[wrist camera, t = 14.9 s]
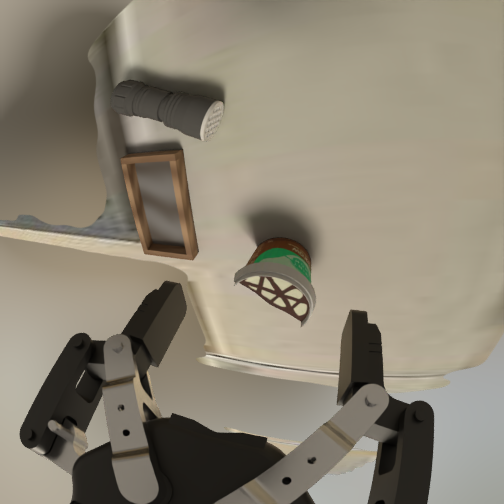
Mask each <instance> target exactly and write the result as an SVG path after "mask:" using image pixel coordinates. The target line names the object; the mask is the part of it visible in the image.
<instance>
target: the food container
mask: <svg viewBox="0 0 504 504" xmlns="http://www.w3.org/2000/svg"><path fill="white" fill-rule="evenodd" d="M234 282H235V285H236V284H237V283H241V284H242V285H244V286H246V287H247V288H249V289H250V290H252V291H253V292H255V293H256V294H258V295H259V296H260V297H261V298H262V299H264V300H265V301H266V302H268V303H269V304H270V305H272V306H274V307H276V308H278V309H280V310H283V311H285V312H287V313H288V314H290V315H292V316H293V317H295V318H296V319H298V320H299V321H301V327H302V326H304V325H305V324H306V322H307V321H308V320H309V319H310V317H311V315H312V312H313V310H314V307H315V304H316V295H315V291H314V288H313V286H312V285H311V259H310V257H309V254H308V252H307V251H306V249H305V248H304V247H303V246H302V245H301V244H299V243H298V242H296V241H294V240H291V239H288V238H272V239H269V240H266V241H264V242H263V243H261V244H260V245H259V246H258V247H257V249H256V250H255V252H254V253H253V255H252V257H251V258H250V260H249V261H248V263H247V265H246V266H245V267H243V268H241V269H240V270H238V271H237V272H236V273H235V278H234ZM235 285H234V286H235Z"/></svg>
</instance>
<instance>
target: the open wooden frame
mask: <svg viewBox="0 0 504 504" xmlns="http://www.w3.org/2000/svg"><path fill="white" fill-rule="evenodd" d="M121 164H122V169H123V174H124V178H125V183H126V187H127V191H128V196H129V200H130V204H131V208H132V212H133V215H134V219H135V223H136V227H137V230H138V234H139V237H140V241H141V244H142V247H143V251H144V254H148V255H156V256H163V257H171V258H179V259H186V260H194V258H195V257H196V255H197V254H198V252H199V250H198V245H197V239H196V233H195V227H194V221H193V215H192V209H191V203H190V196H189V190H188V183H187V176H186V169H185V162H184V154H183V149H181V150H165V151H152V152H141V153H132V154H128V155H126V156H124V157H122V158H121Z"/></svg>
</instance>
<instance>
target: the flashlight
mask: <svg viewBox="0 0 504 504" xmlns="http://www.w3.org/2000/svg"><path fill="white" fill-rule="evenodd" d="M111 106H112V108H113V110H115V111H116V112H117V113H119V114H123V115H127V116H133V115H134V116H139V117H142V118H150V119H153V120H157V121H160V122H164V125H165V126H167V127H170V128H173V129H178V130H179V131H181V132H182V133H184V134H185V135H188V136H191V137H194V138H197V139H200V140H203V141H206V142H207V141H209V140H210V139H211V138H212V137H213V135H214V134H215V132H216V130H217V129H218V126H219V124H220V121H221V118H222V115H223V110H224V105H223V102H221V101H217V100H214V99H211V98H208V97H204V96H201V95H189V94H186V93H182V92H176V93H174V94H173V93H172V92H168V91H164V90H160V89H157V88H155V87H152V86H148V85H145V84H144V83H143V82H139V81H134V80H128V81H123V82H121V83H119V84H118V85H117V86H116V88H115V89H114V91H113V93H112V96H111Z"/></svg>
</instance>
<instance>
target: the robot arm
mask: <svg viewBox="0 0 504 504" xmlns="http://www.w3.org/2000/svg"><path fill="white" fill-rule="evenodd" d="M186 309H187V306H186V301H185V297H184V294H183V290H182V286H181V284H180V283H175V282H170V281H165V282H164V283H163V284H162V286H161V287H160V288H159V290H157V289H155V290H153V291H152V292H151V293H149V294H148V295H147V296H146V297H145V299H144V300H143V302H142V304H141V305H140V306H139V307H138V310H137V311H136V312H135V313H134V315H133V316H132V318H131V319H130V321H129V322H128V324H127V325H126V327H125V328H124V330H123V332H122V333H121V334H116V335H113V336H111V337H110V338H108V339H107V341H96V340H91V338H90V337H89V335H87V334H86V333H78V334H76V335H74V336H73V337H72V338H71V339H70V340H69V342H68V343H67V345H66V347H65V348H64V350H63V351H62V353H61V355H60V356H59V358H58V360H57V361H56V363H55V365H54V366H53V368H52V370H51V371H50V373H49V375H48V377H47V378H46V380H45V382H44V384H43V385H42V387H41V389H40V391H39V393H38V395H37V397H36V398H35V400H34V402H33V404H32V406H31V408H30V410H29V412H28V414H27V416H26V418H25V421H24V422H23V424H22V427H21V429H20V439H21V442H22V444H23V445H24V446H25V447H27V448H29V449H31V450H32V451H34V452H36V453H37V454H38V455H40V456H42V457H44V458H46V459H48V460H50V461H52V462H53V463H55V464H56V465H58V466H59V467H61V468H62V469H63V470H65V471H67V472H68V473H70V474H71V475H72V482H73V495H72V500H71V503H70V504H315V503H314V501H313V500H312V498H311V496H310V495H309V493H308V491H307V490H308V489H309V488H310V487H312V486H313V485H314V484H315V483H316V482H317V481H319V480H320V479H321V478H322V477H323V476H324V475H326V474H327V473H328V472H329V471H330V470H331V469H332V468H333V467H334V466H335V465H336V464H337V463H338V462H339V461H340V460H341V459H342V458H343V457H344V456H345V455H346V454H347V453H348V452H349V451H350V450H351V449H352V448H353V447H354V445H355V444H356V442H358V441H359V439H360V438H361V437H362V436H366V437H368V438H371V439H374V440H377V441H379V444H378V451H377V457H376V464H375V470H374V475H373V481H372V486H371V491H370V496H369V500H368V504H427V501H428V495H429V488H430V480H431V471H432V459H433V442H434V412H433V409H432V407H431V406H430V405H429V404H428V403H426V402H424V401H415V402H413V403H411V404H407V403H404V402H402V401H399V400H396V399H394V398H392V397H391V396H390V395H389V394H388V393H387V391H386V390H385V387H384V381H383V357H382V346H381V344H382V342H381V333H380V331H379V329H378V327H377V325H376V324H370V323H368V318H367V312H366V311H359V310H350V312H349V315H348V318H347V321H346V324H345V327H344V329H343V333H342V339H341V354H340V370H339V384H338V396H337V405H342V406H343V407H342V408H341V410H339V411H338V412H337V413H336V414H335V415H334V416H333V417H332V418H331V419H330V420H329V421H328V422H326V423H325V424H323V425H322V426H321V427H320V428H318V429H317V430H316V431H315V432H314V433H313V434H312V435H310V436H309V437H308V438H307V439H306V440H305V441H304V442H302V443H301V444H300V445H299V446H298V447H296V448H295V449H294V450H293V451H291V452H290V453H289V454H288V455H285V454H284V453H283V452H282V451H281V450H280V449H278V448H277V447H275V446H274V445H272V444H270V443H268V442H267V438H266V437H261V436H255V435H251V434H246V433H217V432H214V431H212V430H210V429H208V428H207V427H205V426H203V425H202V424H200V423H198V422H196V421H195V420H192V419H189V418H186V417H183V416H180V415H177V414H174V413H172V415H171V417H170V418H162V415H161V412H160V410H159V408H158V406H157V404H156V401H155V397H154V393H153V389H152V385H151V380H150V376H149V372H148V368H149V366H150V365H152V366H155V367H158V366H159V364H160V362H161V361H162V359H163V357H164V355H165V353H166V351H167V349H168V347H169V345H170V343H171V341H172V339H173V337H174V335H175V334H176V332H177V330H178V328H179V326H180V324H181V322H182V320H183V319H184V317H185V314H186ZM84 370H85V372H84V374H83V377H82V378H81V380H80V382H79V384H78V385H77V388H76V384H77V382H78V381H79V379H80V377H81V375H82V373H83V371H84ZM102 395H103V400H104V407H105V413H106V420H107V426H108V432H109V436H110V442H107V443H105V444H103V445H101V446H99V447H97V448H95V449H93V450H90V451H88V452H85V449H87V448H88V443H87V438H86V435H85V432H86V429H87V427H88V425H89V423H90V420H91V418H92V416H93V414H94V412H95V410H96V408H97V406H98V403H99V401H100V399H101V397H102Z"/></svg>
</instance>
